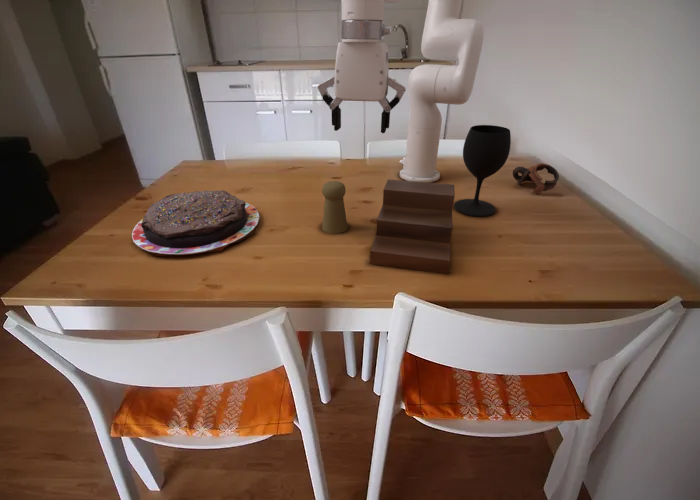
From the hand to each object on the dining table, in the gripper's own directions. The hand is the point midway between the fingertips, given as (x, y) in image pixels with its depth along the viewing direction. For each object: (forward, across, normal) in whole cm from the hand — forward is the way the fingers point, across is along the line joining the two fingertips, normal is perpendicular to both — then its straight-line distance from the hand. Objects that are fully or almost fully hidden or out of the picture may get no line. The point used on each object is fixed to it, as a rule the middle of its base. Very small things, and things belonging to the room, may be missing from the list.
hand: (360, 130), depth 73 cm
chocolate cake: (+22, +36, +8) cm, 44 cm away
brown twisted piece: (+21, -45, -34) cm, 60 cm away
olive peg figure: (+22, +5, +2) cm, 23 cm away
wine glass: (+22, -28, -16) cm, 38 cm away
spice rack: (+22, -13, +5) cm, 26 cm away
